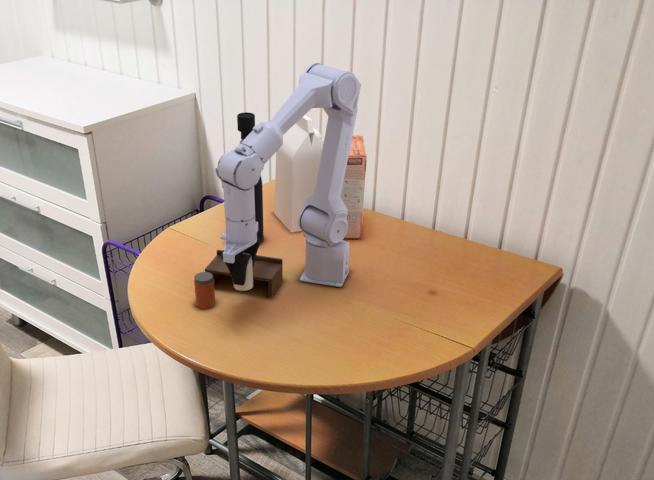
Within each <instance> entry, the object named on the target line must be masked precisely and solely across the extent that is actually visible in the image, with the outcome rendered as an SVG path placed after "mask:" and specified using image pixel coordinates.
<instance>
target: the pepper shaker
mask: <svg viewBox="0 0 654 480" xmlns="http://www.w3.org/2000/svg"><path fill="white" fill-rule="evenodd" d="M193 278H194V280H193V283H194V296H195V305H196V307H197V308H199V309H202V310H206V309H211V308H213V307H215V306H216V293H215V282H214V279H213V275H212V274H211V273H209V272H205V271H200V272H198V273H196V274H194V275H193Z"/></svg>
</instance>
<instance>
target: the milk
mask: <svg viewBox="0 0 654 480" xmlns="http://www.w3.org/2000/svg"><path fill="white" fill-rule="evenodd" d="M322 137H323V134H322V133H321V132H320V131H319V130H317V129H316V128H315V127H314V123H313V119H312V118H311V117H309V116H308V115H306V114H305V115H304V116H303V117H302V118H301V119H300V120H299V121H298V122H297V123H296V124H294V125H293V126H292V127H291V128H290V129H289V130H288V131H287V132H286V133H285V134H284V135H283V145H282V146H281V147H280V148H279V149H278V150H277V151H276V153H275V172H274V173H275V175H274V198H273V199H274V204H273V215H274V216H275V217H276V218H277V219H278V220H279V221H280V222H281V223H282V224H283V225H284V227H286V229H287V230H288V231H289V232H290V233H298V232H303V231H302V230H301V229H300V227H299V225H298V218H299V215H300V212H301V211H302V209H303V206H304V202H305V199H306V198H307V197H309V196H311V195H312V194H314V193H315V188H316V182H317V177H318V171H319V166H320V160H321V155H322V149H323V144H324V140H322Z"/></svg>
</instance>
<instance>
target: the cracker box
mask: <svg viewBox="0 0 654 480" xmlns="http://www.w3.org/2000/svg"><path fill="white" fill-rule="evenodd" d="M367 159H368V155H367V150H366V146H365V142H364V137H363V135H354V134H353V136H352V141H351V146H350V151H349V156H348V161H347V166H346V171H345V176H344V181H343V186H342V191H341V196H340V197H341V200H342V201H343V203H344V205H345V206H346V208H347V210H348V214H347V223H348V229H347V233H346V235H345V237H344V238H343V239H362V232H363V231H362V230H363V219H364V218H363V217H364V216H363V215H364V203H365V202H364V201H365V190H366V189H365V188H366V174H367V162H368V161H367Z"/></svg>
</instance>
